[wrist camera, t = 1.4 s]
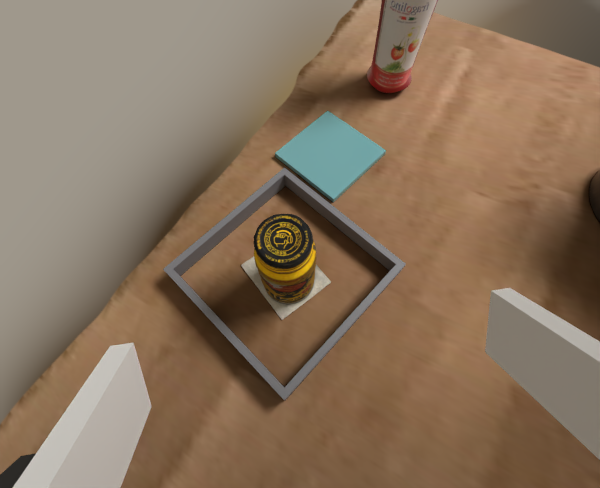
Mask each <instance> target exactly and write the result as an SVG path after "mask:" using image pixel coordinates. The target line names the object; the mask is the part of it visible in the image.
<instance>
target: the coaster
mask: <svg viewBox="0 0 600 488" xmlns="http://www.w3.org/2000/svg"><path fill="white" fill-rule="evenodd" d="M385 152H386V150H384V149H383V148H382V147H380V146H379V145H377V144H376V143H374V142H373V141H371V140H370V139H368V138H367V137H366V136H364V135H363V134H361V133H360V132H358V131H357V130H355V129H354V128H352V127H351V126H350V125H348V124H347V123H345V122H344V121H342V120H341V119H339V118H338V117H336V116H335V115H334V114H332V113H331V112H329V111H326V112H325V113H324V114H323V115H321V116H320V117H319V118H318V119H317V120H315V121H314V122H313V123H312V124H310V125H309V126H308V127H307V128H305V129H304V130H303V131H302V132H301V133H299V134H298V135H297V136H296V137H294V138H293V139H292V140H291V141H289V142H288V143H287V144H286V145H284V146H283V147H282V148H281V149H280V150H278V151H277V152H276V153H275V156H276V158H278V159H279V160H280V161H282V162H283V163H284V164H285V165H287V166H288V167H289V168H290V169H292V170H293V171H294V172H295V173H297V174H298V175H299V176H300V177H302V178H303V179H304V180H306V181H307V182H308V183H309V184H311V185H312V186H313V187H314V188H316V189H317V190H318V191H319V192H321V193H322V194H323V195H325V196H326V197H327V198H328V199H330V200H331V201H332V202H334V201H336V200H337V199H338V198H339V197H340V196H341V195H342V194H343V193H344V192H345V191H346V190H347V189H348V188H349V187H350V186H352V185H353V184H354V183H355V182H356V181H357V180H358V179H359V178H360V177H361V176H362V175H363V174H364V173H365V172H367V171H368V170H369V169H370V168H371V167H372V166H373V165H374V164H375V163H376V162H377V161H378V160H379V159H380V158H381V157H383V156H384V155H385Z"/></svg>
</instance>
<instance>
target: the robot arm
mask: <svg viewBox="0 0 600 488" xmlns="http://www.w3.org/2000/svg"><path fill="white" fill-rule="evenodd" d="M589 197H590V202H591V206H592V209H593V211H594V213H595V215H596V217H597V218H598V220H599V221H600V171H598V172H597V173H596V175H595V176H594V177H593V179H592V181H591V184H590V189H589ZM485 352H486V353H487V354H488V355H489V356H490V357H491V358H492V359H493V360H494V361H495V362H496V363H497V364H498V365H499V366H500V367H501V368H503V369H504V370H505V371H506V372H507V373H508V374H509V375H510V376H511V377H512V378H513V379H514V380H515V381H516V382H517V383H518V384H520V385H521V386H522V387H523V388H524V389H525V390H526V391H527V392H528V393H529V394H530V395H531V396H532V397H533V398H534V399H535V400H537V401H538V402H539V403H540V404H541V405H542V406H543V407H544V408H545V409H546V410H547V411H548V412H549V413H550V414H551V415H552V416H553V417H555V418H556V419H557V420H558V421H559V422H560V423H561V424H562V425H563V426H564V427H565V428H566V429H567V430H568V431H569V432H570V433H572V434H573V435H574V436H575V437H576V438H577V439H578V440H579V441H580V442H581V443H582V444H583V445H584V446H585V447H586V448H587V449H589V450H590V451H591V452H592V453H593V454H594V455H595V456H596V457H597V458H598V459H599V460H600V341H598V340H596V339H595V338H593V337H591V336H590V335H588V334H586V333H585V332H583V331H581V330H580V329H578V328H576V327H574V326H573V325H571V324H569V323H568V322H566V321H564V320H563V319H561V318H559V317H558V316H556V315H554V314H553V313H551V312H549V311H548V310H546V309H544V308H543V307H541V306H539V305H538V304H536V303H534V302H533V301H531V300H529V299H528V298H526V297H524V296H523V295H521V294H519V293H518V292H516V291H514V290H513V289H511V288H506V289H499V290H492V291H491V297H490V307H489V318H488V328H487V339H486V349H485ZM151 407H152V406H151V402H150V399H149V395H148V392H147V388H146V385H145V381H144V378H143V374H142V371H141V367H140V364H139V360H138V357H137V353H136V350H135V346H134V343H127V344H121V345H114V346H110V347H109V349H108V350H107V351H106V353H105V354H104V356H103V357H102V359H101V360H100V362H99V363H98V365H97V366H96V367H95V369H94V370H93V372H92V373H91V375H90V376H89V378H88V379H87V381H86V382H85V383H84V385H83V386H82V388H81V389H80V391H79V392H78V394H77V395H76V396H75V398H74V399H73V401H72V402H71V404H70V405H69V407H68V408H67V410H66V411H65V412H64V414H63V415H62V417H61V418H60V420H59V421H58V423H57V424H56V425H55V427H54V428H53V430H52V431H51V433H50V434H49V436H48V437H47V439H46V440H45V441H44V443H43V444H42V446H41V447H40V449H39V450H38V452H37V453H36V454H31V455H25V456H21V457H20V458H18V459H17V460H16V461H15V462H14V463H13V464H12V465H11V466H10V467H8V468H7V469H6V470H5V471H4V472H3V473H2V474H1V475H0V488H121V485H122V482H123V480H124V477H125V475H126V472H127V469H128V467H129V464H130V462H131V459H132V456H133V454H134V451H135V448H136V446H137V443H138V441H139V438H140V435H141V433H142V430H143V428H144V425H145V422H146V420H147V417H148V415H149V412H150V409H151Z"/></svg>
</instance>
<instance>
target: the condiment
mask: <svg viewBox="0 0 600 488" xmlns="http://www.w3.org/2000/svg"><path fill="white" fill-rule="evenodd" d="M254 247H255V249H254V257H252V258H251V259H250V260H248V261H246V262H245V263H244V264H242V265H241V266H242V268H243V269H244V270H245V272H246V273H247V274H248V276H249V277H250V278H251V279H252V281H253V282H254V283H255V285H256V286H257V287H258V289H259V290H260V292H261V293H262V294H263V296H264V297H265V298H266V299H267V301H268V302H269V303H270V305H271V306H272V307H273V309H274V310H275V311H276V313H277V314H278V315H279V317H280V318H281V319H282V320H283V319H284V318H285V317H287V316H288V315H289V314H291V313H292V312H293V311H295V310H296V309H297V308H299V307H300V306H301V305H303V304H304V303H305V302H306V301H308V300H309V299H310V298H312V297H313V296H314V295H315V294H317V293H318V292H319V291H320V290H322V289H323V288H324V287H326V286H327V285H328V284H330V283H331V281H330V280H329V279H328V278H327V277H326V276H325V274H324V273H323V272H322V271H321V270H320V269H319V267H318V266H317V265H316V247H315V243H314V241H313V237H312V233H311V230H310V228H309V226H308V225H307V224H306V223H305V222H304V221H303V220H302V219H301V218H299V217H297V216H295V215H292V214H278V215H273V216H271V217H269V218H267V219H266V220H264V221H263V222H262V223H261V224H260V225H259V227H258V228H257V231H256V233H255V235H254Z"/></svg>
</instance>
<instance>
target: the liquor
mask: <svg viewBox="0 0 600 488" xmlns="http://www.w3.org/2000/svg"><path fill="white" fill-rule="evenodd" d="M437 1H438V0H382V4H381V11H380V19H379V25H378V31H377V37H376V44H375V50H374V55H373V61H372V66H371V67H370V68H369V70H368V72H367V78H368V81H369V82H370V84H371V85H372V86H373V87H375V88H376V89H377V90H378V91H380V92H383V93H394V92H398V91H401V90H403V89H405V88H406V87H408V86H409V84H410V83H411V70H412V68H413V65H414V62H415V59H416V56H417V53H418V51H419V48H420V45H421V43H422V40H423V37H424V35H425V32H426V29H427V26H428V24H429V21H430V19H431V16H432V14H433V11H434V9H435V6H436V4H437Z"/></svg>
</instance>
